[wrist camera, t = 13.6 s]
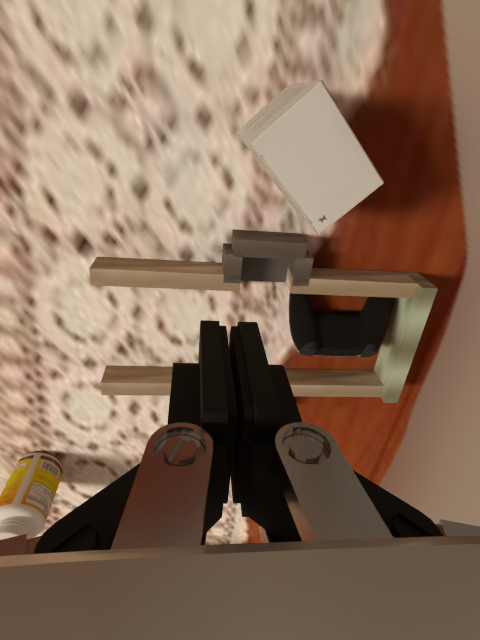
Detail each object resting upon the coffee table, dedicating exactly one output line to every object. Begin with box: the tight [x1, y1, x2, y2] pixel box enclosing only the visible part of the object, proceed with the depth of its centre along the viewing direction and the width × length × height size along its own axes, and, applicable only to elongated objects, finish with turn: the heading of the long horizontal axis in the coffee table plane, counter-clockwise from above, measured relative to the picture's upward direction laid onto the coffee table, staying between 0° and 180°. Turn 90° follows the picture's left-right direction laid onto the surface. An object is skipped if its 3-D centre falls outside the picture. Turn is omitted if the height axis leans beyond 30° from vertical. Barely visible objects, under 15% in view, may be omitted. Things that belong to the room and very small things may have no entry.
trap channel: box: [90, 230, 438, 403], centre depth 41 cm, size 21×33×4 cm, turn 85°
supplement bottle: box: [0, 452, 63, 540], centre depth 45 cm, size 6×6×10 cm
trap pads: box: [241, 257, 289, 282], centre depth 43 cm, size 18×5×1 cm, turn 175°
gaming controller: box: [289, 292, 391, 357], centre depth 42 cm, size 11×4×7 cm
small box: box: [237, 80, 384, 235], centre depth 30 cm, size 8×6×10 cm
